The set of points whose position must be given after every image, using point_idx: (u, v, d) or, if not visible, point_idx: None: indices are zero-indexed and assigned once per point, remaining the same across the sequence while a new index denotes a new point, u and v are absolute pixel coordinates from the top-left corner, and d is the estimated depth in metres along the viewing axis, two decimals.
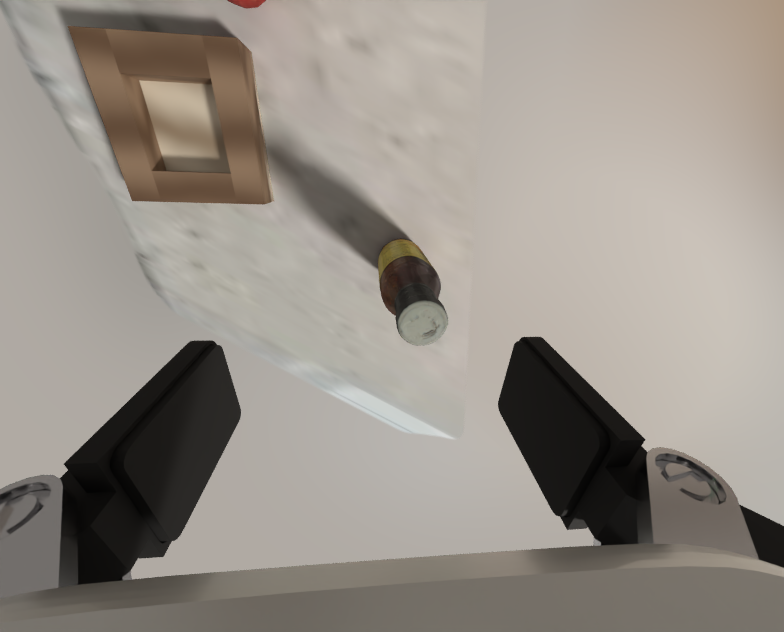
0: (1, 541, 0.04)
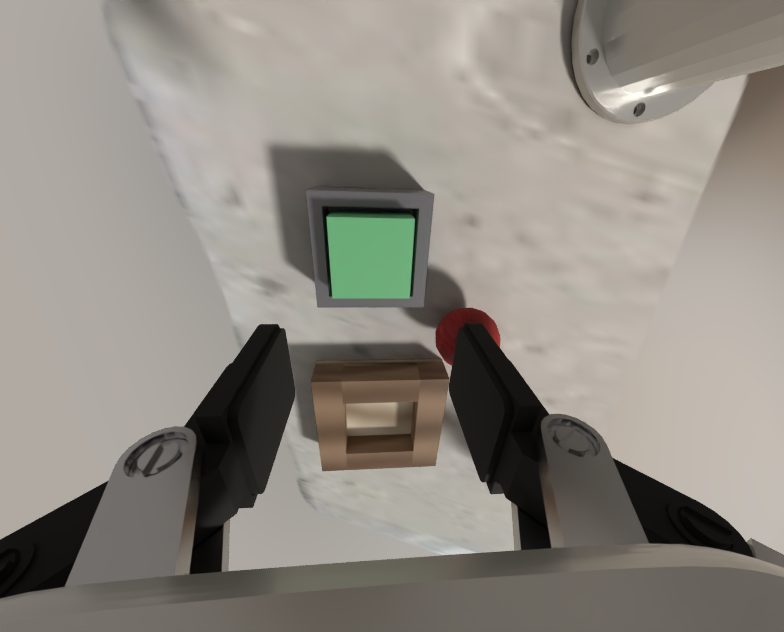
0: (152, 477, 0.05)
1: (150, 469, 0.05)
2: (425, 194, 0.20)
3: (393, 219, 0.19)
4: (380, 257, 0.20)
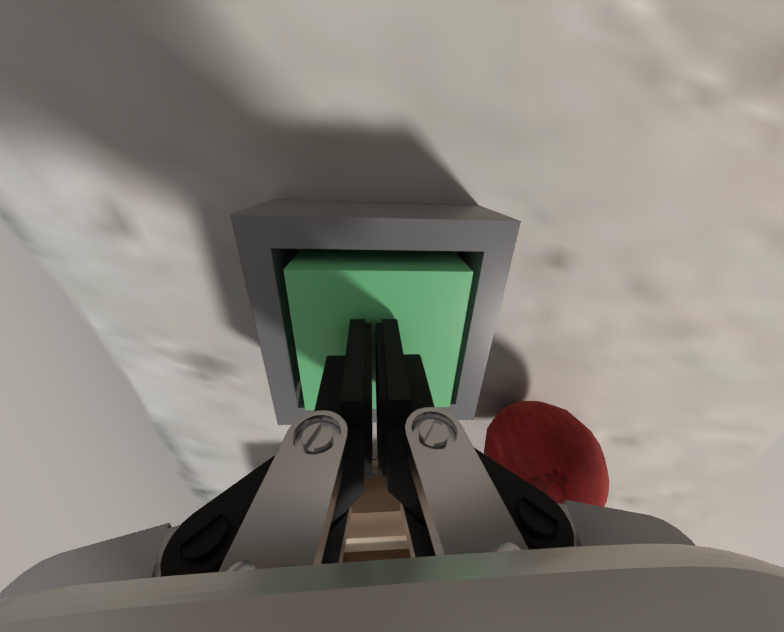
0: (310, 456, 0.05)
1: (309, 445, 0.06)
2: (501, 222, 0.09)
3: (428, 273, 0.09)
4: None
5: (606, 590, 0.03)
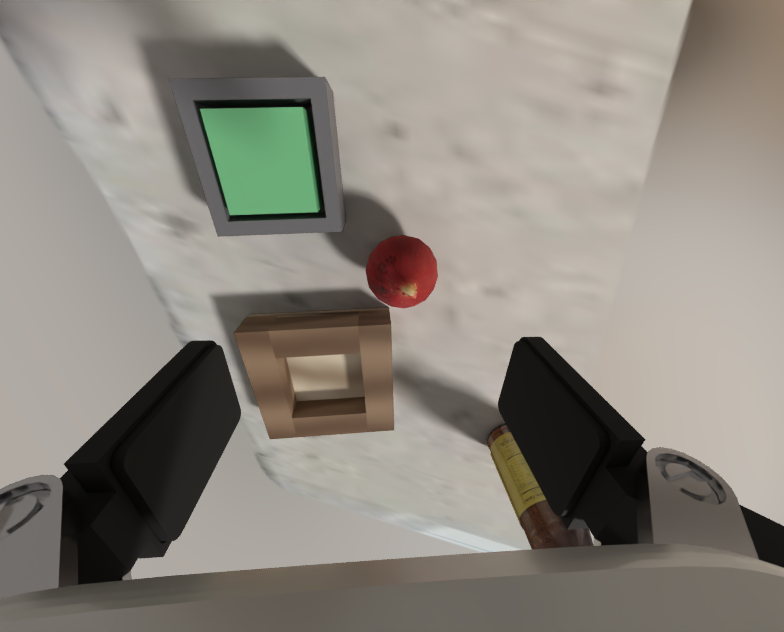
0: (2, 541, 0.04)
1: None
2: (315, 78, 0.17)
3: (277, 108, 0.17)
4: (273, 159, 0.18)
5: (606, 590, 0.03)
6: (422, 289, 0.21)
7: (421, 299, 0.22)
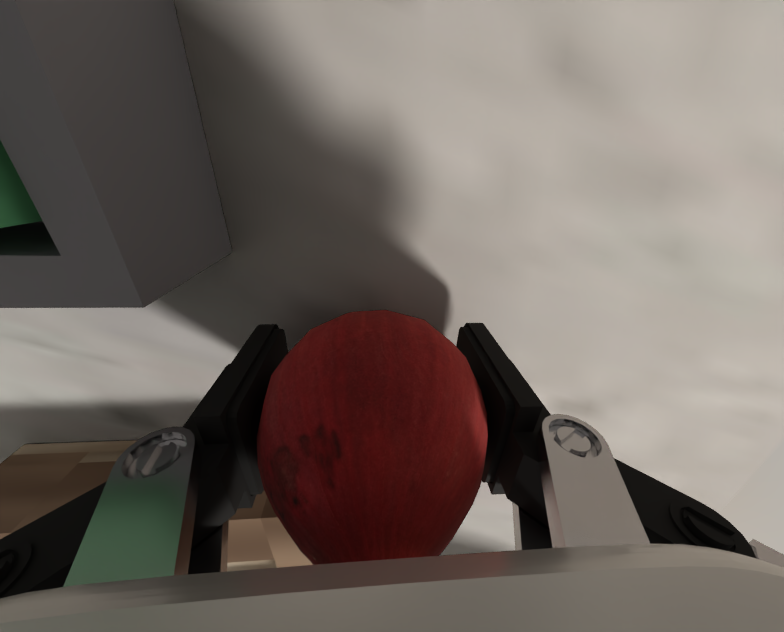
0: (150, 477, 0.05)
1: (148, 470, 0.05)
2: None
3: None
4: None
5: (606, 590, 0.03)
6: (442, 549, 0.05)
7: None
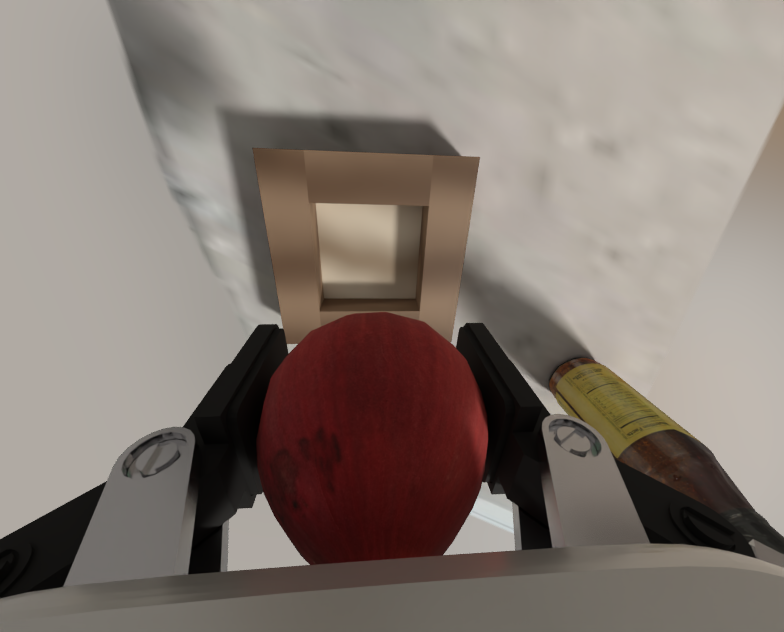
0: (151, 477, 0.05)
1: (148, 470, 0.05)
2: None
3: None
4: None
5: (606, 590, 0.03)
6: (443, 552, 0.05)
7: None
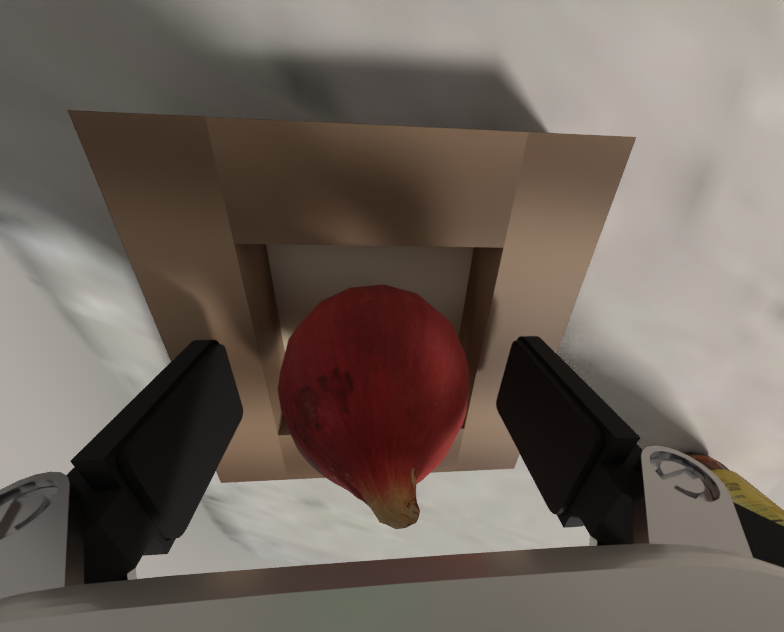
0: (9, 537, 0.04)
1: (4, 531, 0.04)
2: None
3: None
4: None
5: (606, 590, 0.03)
6: (432, 467, 0.07)
7: None
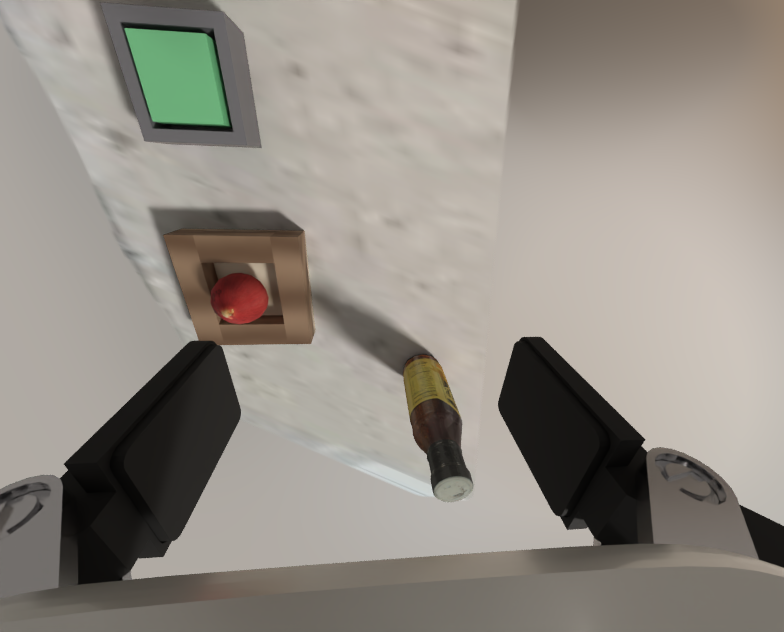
0: (1, 541, 0.04)
1: None
2: (215, 12, 0.22)
3: (185, 33, 0.22)
4: (185, 76, 0.23)
5: (606, 590, 0.03)
6: (242, 312, 0.30)
7: (246, 319, 0.31)
